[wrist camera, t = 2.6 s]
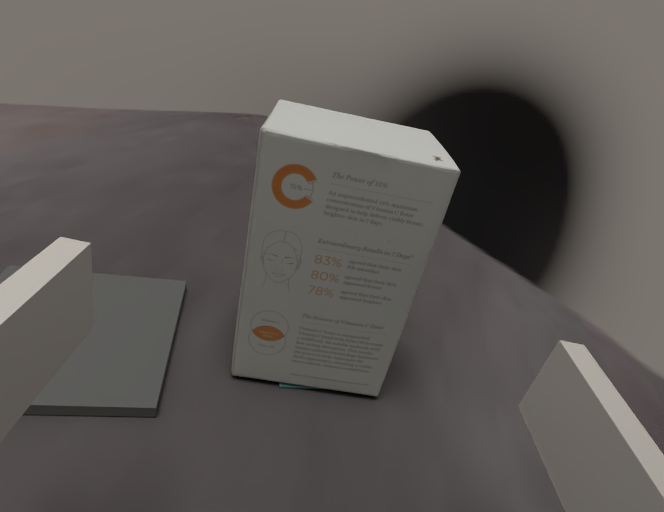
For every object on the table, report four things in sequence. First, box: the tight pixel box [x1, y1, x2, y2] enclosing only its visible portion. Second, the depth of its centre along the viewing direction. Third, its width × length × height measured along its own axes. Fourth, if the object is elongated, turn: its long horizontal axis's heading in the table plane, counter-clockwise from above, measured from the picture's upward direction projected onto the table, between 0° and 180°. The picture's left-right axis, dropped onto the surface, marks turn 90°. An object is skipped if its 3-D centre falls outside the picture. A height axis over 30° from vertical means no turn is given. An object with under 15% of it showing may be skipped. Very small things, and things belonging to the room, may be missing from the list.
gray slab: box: [0, 265, 186, 417], centre depth 23 cm, size 10×10×1 cm
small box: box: [231, 100, 460, 396], centre depth 23 cm, size 8×6×13 cm
